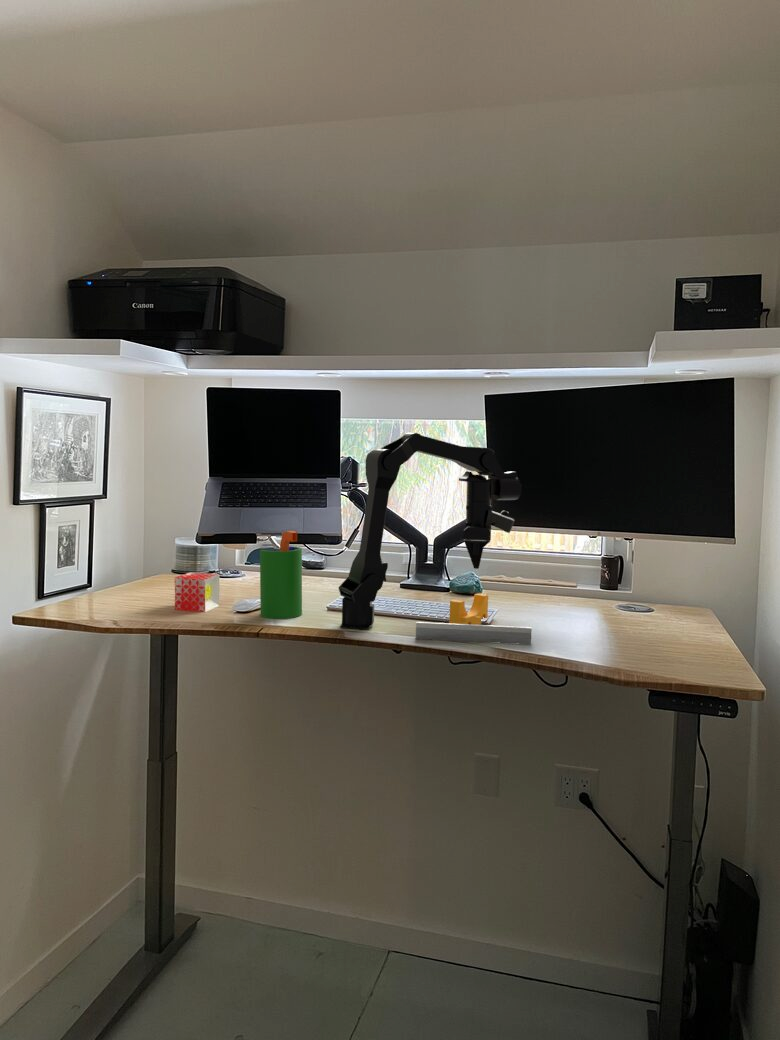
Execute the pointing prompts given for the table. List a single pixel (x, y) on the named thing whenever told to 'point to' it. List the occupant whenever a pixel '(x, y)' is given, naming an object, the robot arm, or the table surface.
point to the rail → (473, 632)
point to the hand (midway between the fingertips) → (476, 565)
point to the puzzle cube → (196, 592)
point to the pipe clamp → (474, 614)
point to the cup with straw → (281, 580)
